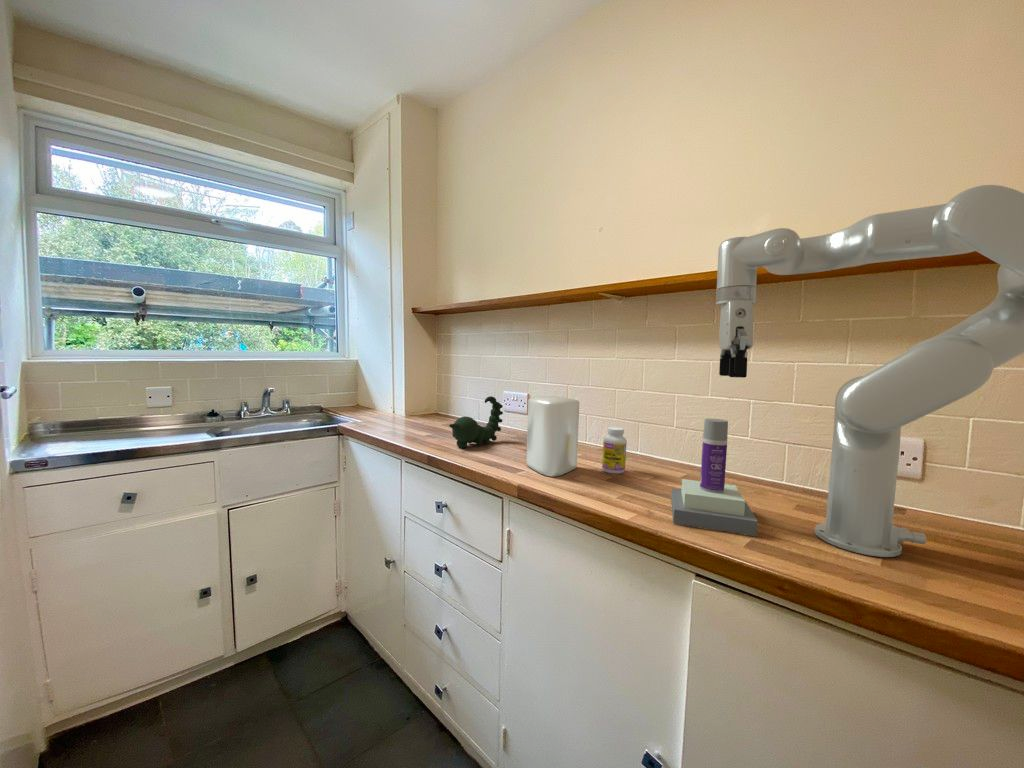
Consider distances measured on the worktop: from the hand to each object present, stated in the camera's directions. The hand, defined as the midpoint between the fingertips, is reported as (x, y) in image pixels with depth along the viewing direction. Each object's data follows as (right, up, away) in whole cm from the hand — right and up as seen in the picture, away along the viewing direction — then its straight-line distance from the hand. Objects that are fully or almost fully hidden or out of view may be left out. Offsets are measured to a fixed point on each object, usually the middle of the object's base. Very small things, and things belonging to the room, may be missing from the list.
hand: (732, 376), depth 90 cm
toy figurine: (-62, -25, +62) cm, 90 cm away
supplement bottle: (-18, -28, +32) cm, 46 cm away
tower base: (-6, -30, -1) cm, 31 cm away
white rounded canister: (-37, -27, +30) cm, 55 cm away
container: (-5, -25, -2) cm, 25 cm away
